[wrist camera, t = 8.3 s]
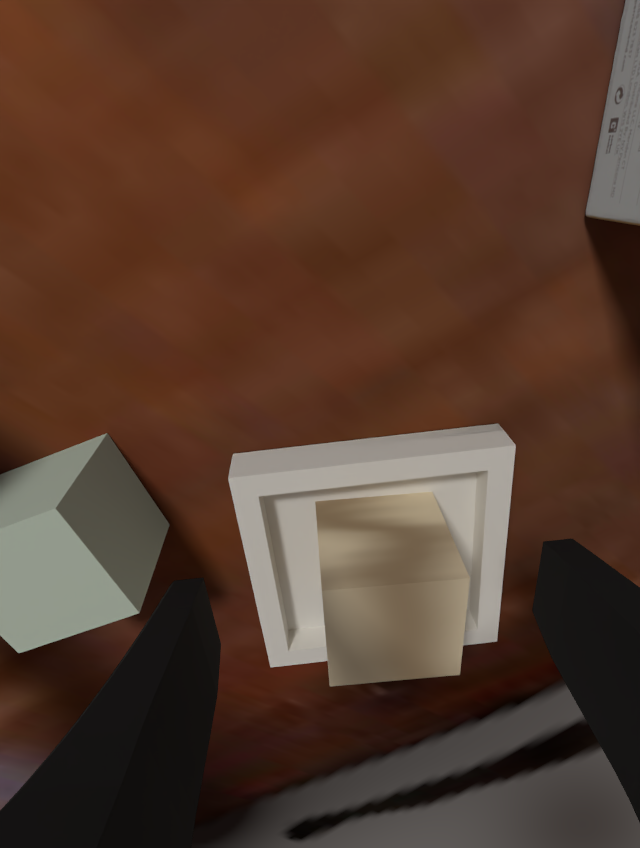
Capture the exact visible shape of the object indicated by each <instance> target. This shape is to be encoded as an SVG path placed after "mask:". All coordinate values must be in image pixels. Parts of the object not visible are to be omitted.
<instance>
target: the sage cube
mask: <svg viewBox="0 0 640 848" xmlns="http://www.w3.org/2000/svg"><path fill="white" fill-rule="evenodd" d="M169 525H170V524H169V523H168V521H167V520H166V519H165V517H164V516H163V514H162V513H161V511H160V510H159V508H158V507H157V505H156V504H155V502H154V501H153V499H152V498H151V496H150V495H149V494H148V492H147V491H146V489H145V488H144V486H143V485H142V483H141V482H140V480H139V479H138V477H137V476H136V474H135V473H134V471H133V470H132V468H131V467H130V466H129V464H128V463H127V461H126V460H125V458H124V457H123V455H122V454H121V452H120V451H119V449H118V448H117V446H116V445H115V443H114V442H113V441H112V439H111V438H110V436H109V435H108V433H106V434H104V435H101V436H99V437H96V438H94V439H91V440H88V441H86V442H83V443H81V444H78V445H75V446H73V447H70V448H68V449H65V450H63V451H60V452H57V453H55V454H52V455H50V456H47V457H44V458H42V459H39V460H37V461H34V462H31V463H29V464H26V465H24V466H21V467H19V468H16V469H13V470H11V471H8V472H6V473H3V474H0V636H1V637H2V638H3V639H4V640H5V641H6V642H7V643H8V644H10V645H11V646H12V647H13V648H14V649H15V650H16V651H17V652H18V653H22V652H25V651H28V650H31V649H34V648H37V647H40V646H43V645H46V644H49V643H52V642H55V641H58V640H61V639H64V638H67V637H70V636H73V635H76V634H78V633H81V632H84V631H87V630H90V629H93V628H96V627H99V626H102V625H105V624H108V623H111V622H114V621H117V620H120V619H123V618H126V617H129V616H132V615H135V614H138V613H140V610H141V607H142V604H143V601H144V598H145V596H146V593H147V590H148V587H149V584H150V581H151V578H152V575H153V572H154V569H155V566H156V563H157V560H158V557H159V554H160V551H161V548H162V546H163V543H164V540H165V537H166V534H167V531H168V528H169Z"/></svg>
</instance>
